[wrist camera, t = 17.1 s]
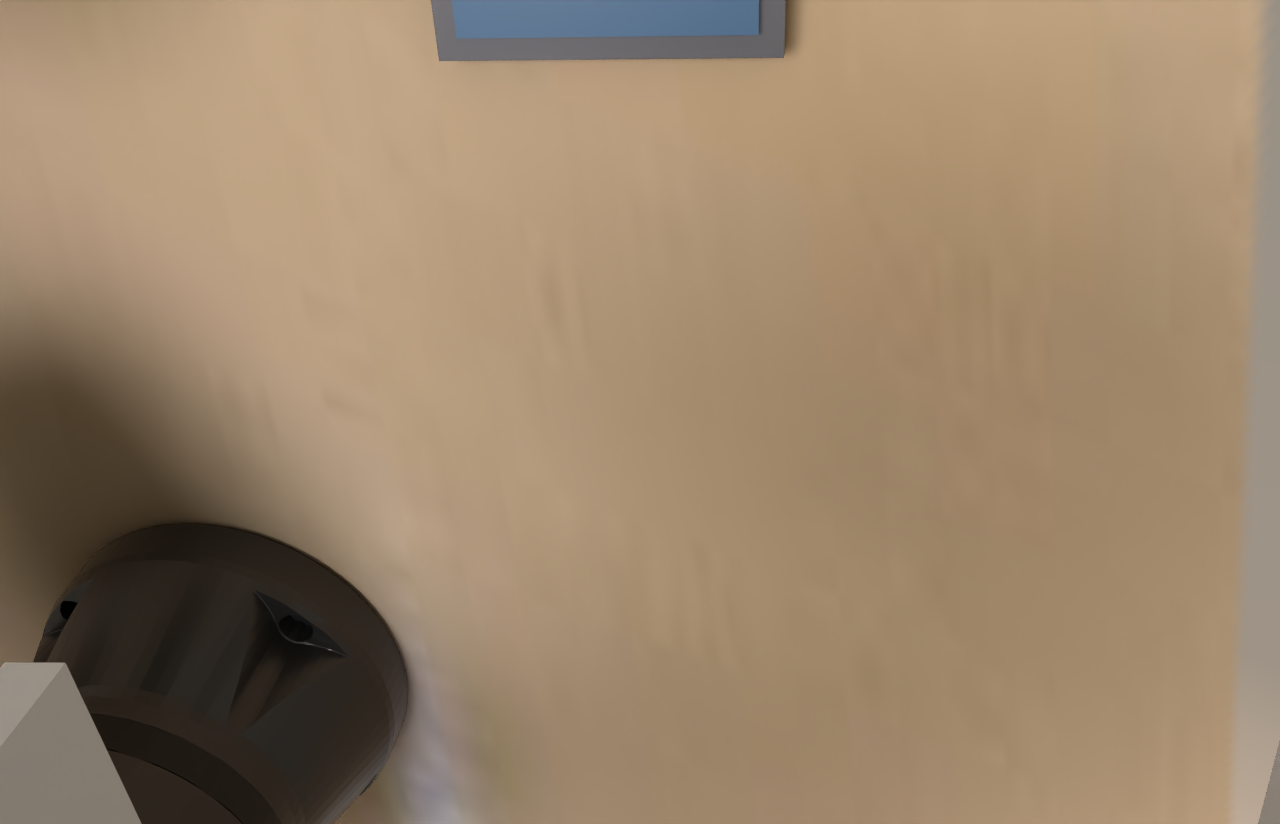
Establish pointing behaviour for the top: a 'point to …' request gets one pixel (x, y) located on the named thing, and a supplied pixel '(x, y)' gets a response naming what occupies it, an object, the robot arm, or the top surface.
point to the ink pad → (608, 29)
